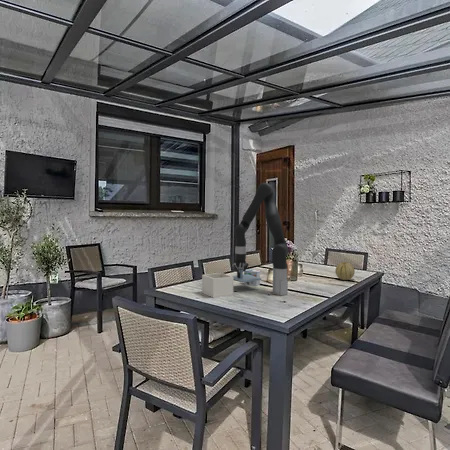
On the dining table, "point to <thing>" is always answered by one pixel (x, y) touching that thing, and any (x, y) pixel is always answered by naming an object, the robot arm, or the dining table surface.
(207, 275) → the tub
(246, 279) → the lid
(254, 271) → the light bulb box
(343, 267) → the cantaloupe
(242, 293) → the dining table surface
